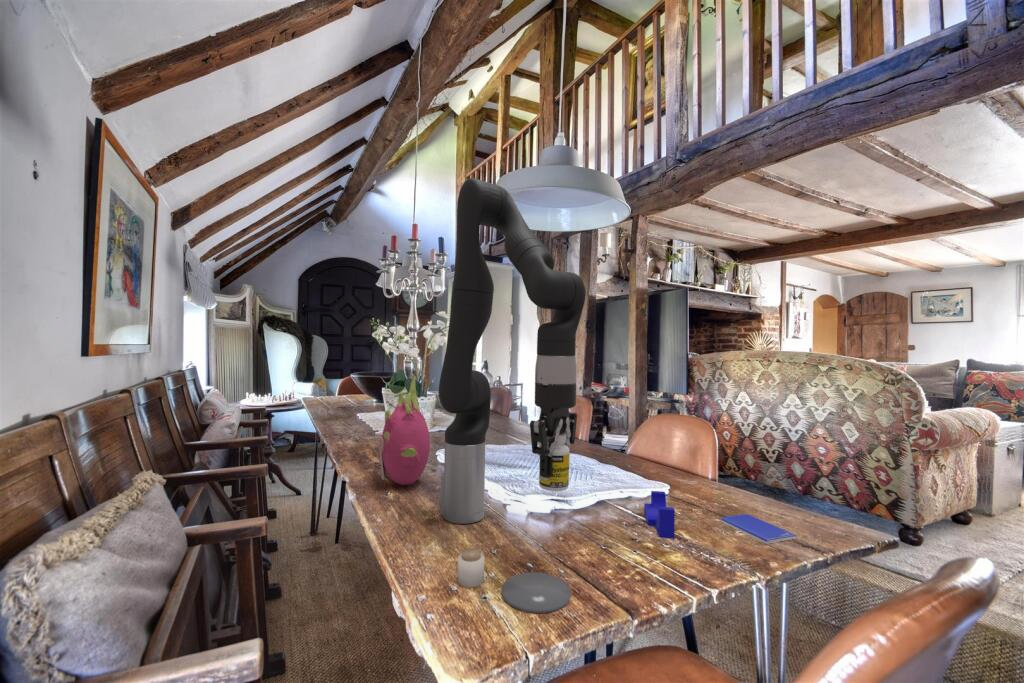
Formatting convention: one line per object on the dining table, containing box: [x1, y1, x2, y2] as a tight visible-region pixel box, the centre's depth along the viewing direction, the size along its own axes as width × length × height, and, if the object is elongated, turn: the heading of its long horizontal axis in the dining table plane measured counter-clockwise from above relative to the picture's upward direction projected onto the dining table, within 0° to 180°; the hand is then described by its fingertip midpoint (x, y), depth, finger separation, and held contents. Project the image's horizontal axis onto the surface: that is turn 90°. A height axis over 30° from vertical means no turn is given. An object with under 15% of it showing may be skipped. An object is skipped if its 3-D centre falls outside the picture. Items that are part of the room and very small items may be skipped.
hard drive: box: [720, 513, 798, 545], centre depth 102 cm, size 2×8×12 cm
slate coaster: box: [501, 571, 572, 614], centre depth 75 cm, size 11×11×1 cm
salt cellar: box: [457, 547, 485, 589], centre depth 79 cm, size 4×4×5 cm
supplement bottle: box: [538, 433, 571, 492], centre depth 85 cm, size 5×5×10 cm
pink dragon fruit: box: [379, 375, 431, 486], centre depth 129 cm, size 18×14×30 cm
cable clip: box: [643, 490, 676, 539], centre depth 103 cm, size 12×4×6 cm, turn 171°
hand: (553, 472), depth 85 cm, fingers closed on supplement bottle, 5 cm apart
